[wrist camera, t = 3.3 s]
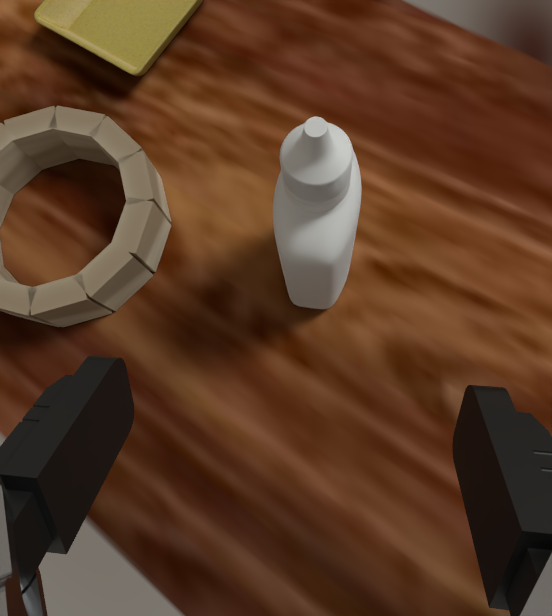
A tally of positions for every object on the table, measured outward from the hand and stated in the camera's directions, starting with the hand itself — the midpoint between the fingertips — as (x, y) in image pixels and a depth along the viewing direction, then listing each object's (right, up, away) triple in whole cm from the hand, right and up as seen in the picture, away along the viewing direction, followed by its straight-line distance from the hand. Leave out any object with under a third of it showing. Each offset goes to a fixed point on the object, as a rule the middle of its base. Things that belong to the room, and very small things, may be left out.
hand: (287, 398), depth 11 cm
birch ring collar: (-12, +7, +16) cm, 21 cm away
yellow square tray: (-9, +21, +20) cm, 31 cm away
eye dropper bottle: (+2, +5, +15) cm, 16 cm away
